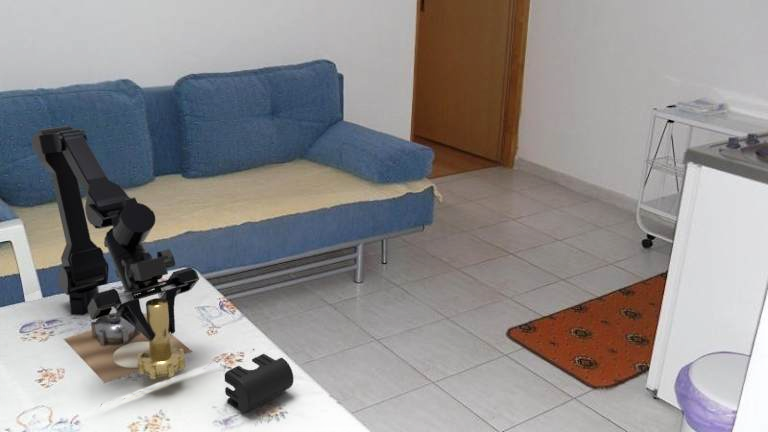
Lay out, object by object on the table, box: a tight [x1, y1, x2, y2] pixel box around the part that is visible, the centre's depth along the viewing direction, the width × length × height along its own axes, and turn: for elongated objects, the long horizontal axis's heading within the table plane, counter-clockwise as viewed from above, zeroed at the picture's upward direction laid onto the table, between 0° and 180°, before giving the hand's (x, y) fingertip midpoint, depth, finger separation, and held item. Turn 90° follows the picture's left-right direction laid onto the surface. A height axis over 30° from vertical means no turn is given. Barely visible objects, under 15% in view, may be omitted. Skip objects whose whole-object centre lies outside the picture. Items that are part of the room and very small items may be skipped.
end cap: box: [224, 353, 295, 413], centre depth 132 cm, size 10×7×7 cm
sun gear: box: [90, 312, 140, 347], centre depth 149 cm, size 9×8×4 cm
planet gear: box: [137, 297, 186, 380], centre depth 133 cm, size 8×8×12 cm
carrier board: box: [63, 312, 193, 384], centre depth 147 cm, size 20×17×2 cm
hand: (162, 336), depth 132 cm, fingers closed on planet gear, 4 cm apart
